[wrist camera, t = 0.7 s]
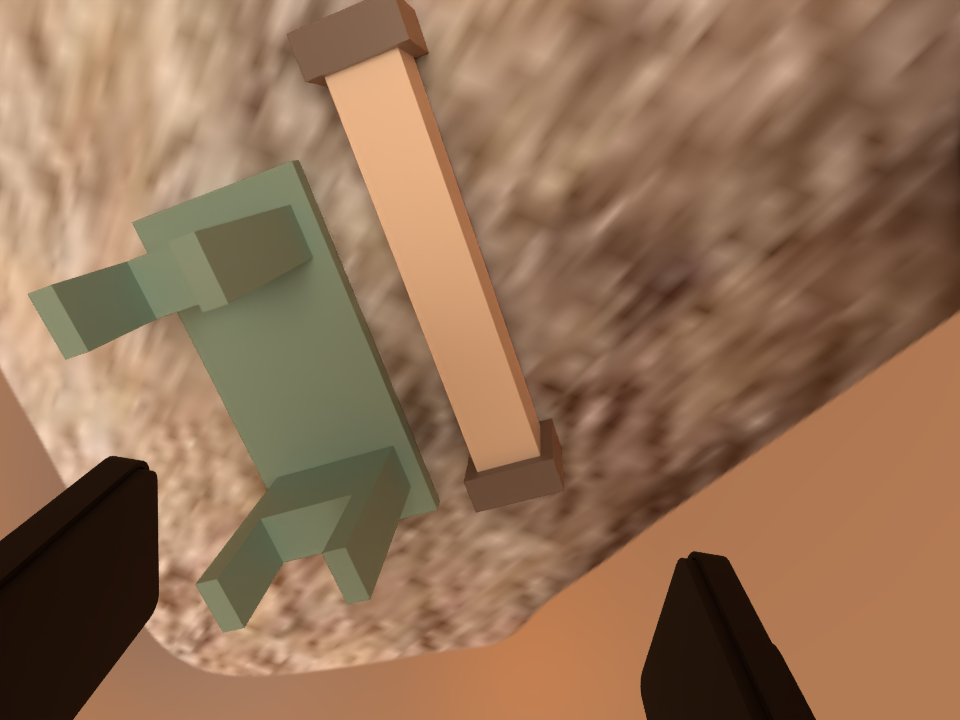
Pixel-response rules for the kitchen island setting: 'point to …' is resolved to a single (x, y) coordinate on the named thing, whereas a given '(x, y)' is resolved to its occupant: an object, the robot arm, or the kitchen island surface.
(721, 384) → the kitchen island surface
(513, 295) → the kitchen island surface
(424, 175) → the tan wooden bar
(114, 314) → the rack
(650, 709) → the robot arm
